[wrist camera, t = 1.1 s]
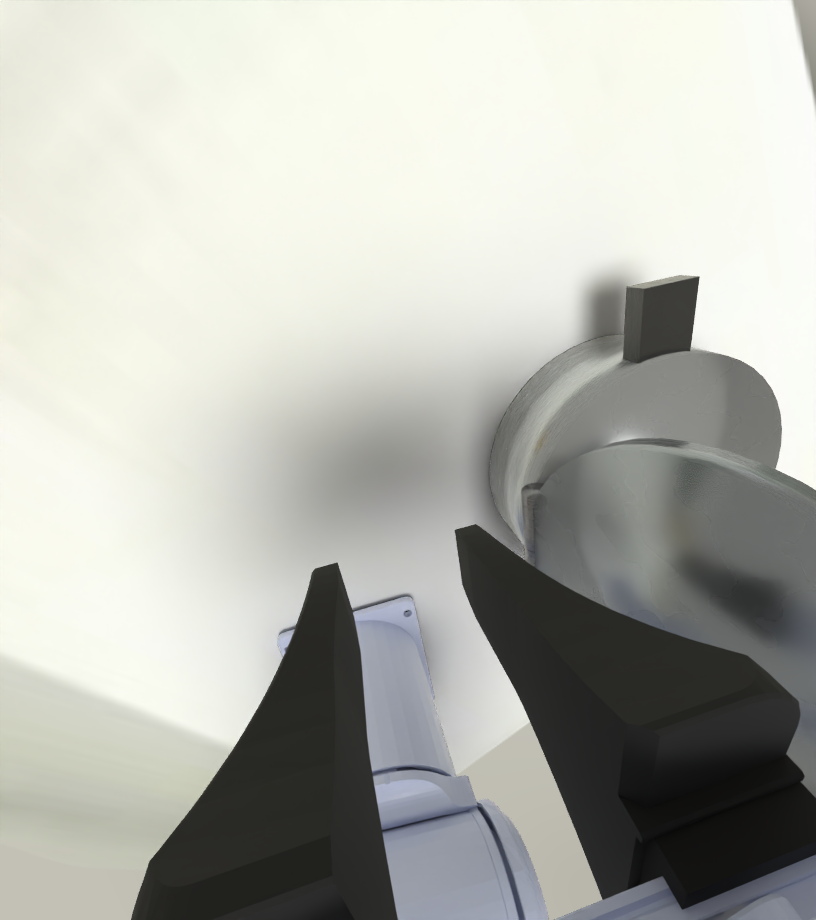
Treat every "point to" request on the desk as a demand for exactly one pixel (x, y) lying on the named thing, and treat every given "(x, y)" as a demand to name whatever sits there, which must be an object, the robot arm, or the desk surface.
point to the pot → (632, 397)
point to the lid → (690, 553)
